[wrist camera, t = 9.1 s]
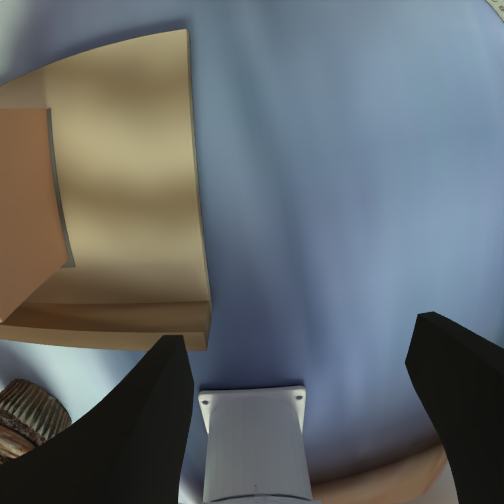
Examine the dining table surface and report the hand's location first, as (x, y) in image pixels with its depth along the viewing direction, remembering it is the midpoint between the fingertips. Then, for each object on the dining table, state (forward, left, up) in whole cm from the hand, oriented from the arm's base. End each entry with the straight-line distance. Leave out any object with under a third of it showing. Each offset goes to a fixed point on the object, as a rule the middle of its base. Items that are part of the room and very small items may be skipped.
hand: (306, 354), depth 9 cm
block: (+5, +15, -8) cm, 17 cm away
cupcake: (-16, +24, -10) cm, 30 cm away
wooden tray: (+4, +13, -9) cm, 17 cm away
